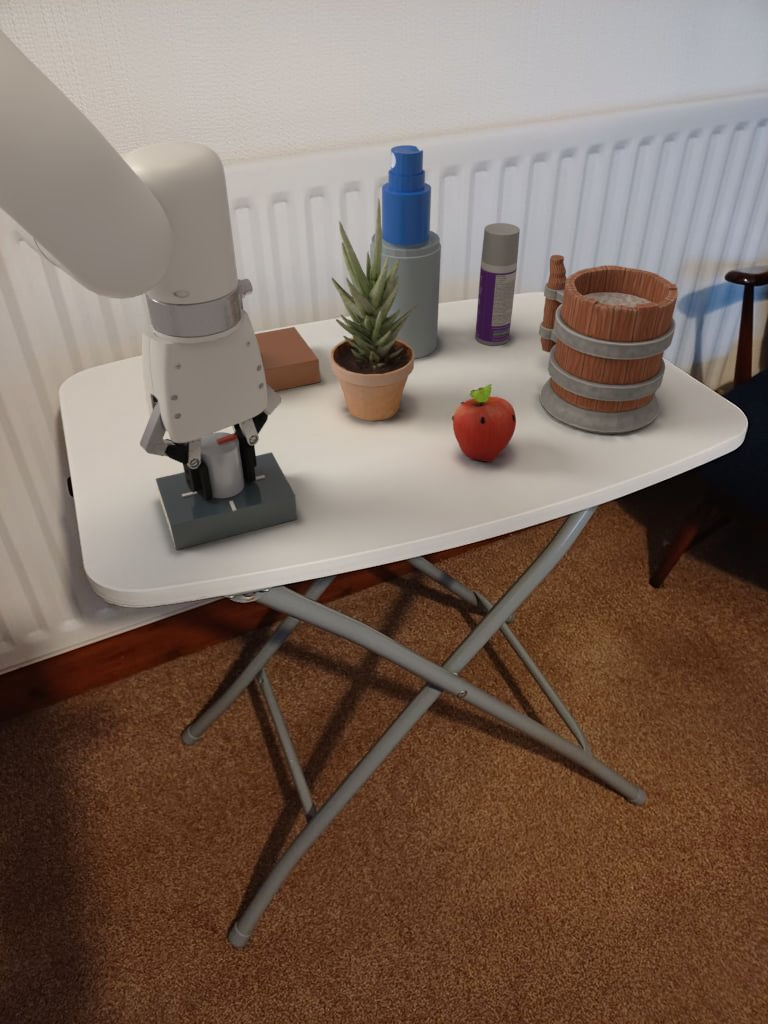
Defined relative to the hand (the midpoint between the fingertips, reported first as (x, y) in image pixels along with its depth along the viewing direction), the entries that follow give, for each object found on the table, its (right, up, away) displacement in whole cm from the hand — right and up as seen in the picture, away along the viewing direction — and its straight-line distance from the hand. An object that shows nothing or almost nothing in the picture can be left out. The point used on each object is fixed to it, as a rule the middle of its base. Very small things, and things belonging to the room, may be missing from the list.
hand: (223, 482), depth 76 cm
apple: (+26, +3, +10) cm, 28 cm away
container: (+31, +21, +32) cm, 49 cm away
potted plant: (+15, +9, +18) cm, 25 cm away
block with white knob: (0, +15, +24) cm, 28 cm away
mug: (+40, +11, +20) cm, 47 cm away
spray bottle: (+18, +20, +31) cm, 41 cm away
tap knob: (0, 0, 0) cm, 0 cm away
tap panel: (0, -3, +2) cm, 4 cm away
